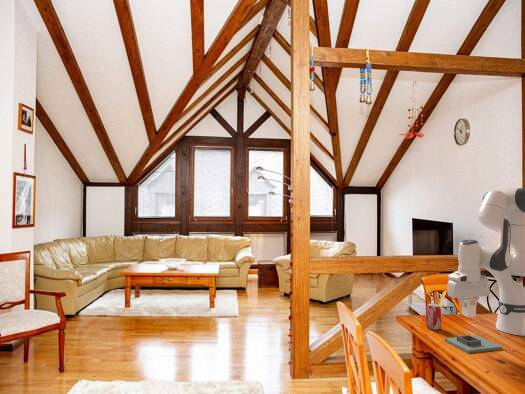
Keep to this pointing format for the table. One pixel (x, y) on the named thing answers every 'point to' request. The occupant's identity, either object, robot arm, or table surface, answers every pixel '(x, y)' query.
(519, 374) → the table surface
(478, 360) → the table surface
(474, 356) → the table surface
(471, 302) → the plug
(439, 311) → the soda can
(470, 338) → the board
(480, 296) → the robot arm
